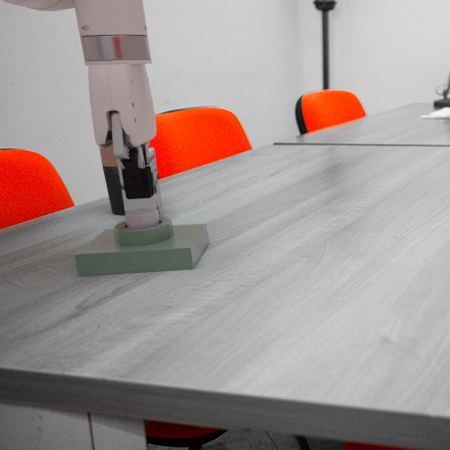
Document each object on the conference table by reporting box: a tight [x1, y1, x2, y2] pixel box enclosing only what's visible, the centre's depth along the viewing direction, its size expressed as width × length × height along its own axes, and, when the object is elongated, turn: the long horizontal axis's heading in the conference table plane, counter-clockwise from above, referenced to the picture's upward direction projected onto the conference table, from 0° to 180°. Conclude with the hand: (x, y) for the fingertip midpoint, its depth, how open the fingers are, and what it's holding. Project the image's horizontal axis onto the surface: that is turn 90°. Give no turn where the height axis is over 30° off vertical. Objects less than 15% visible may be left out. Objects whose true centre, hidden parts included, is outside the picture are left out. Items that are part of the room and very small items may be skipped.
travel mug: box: [98, 145, 125, 216], centre depth 101 cm, size 8×8×20 cm
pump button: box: [124, 208, 160, 229], centre depth 76 cm, size 4×4×2 cm
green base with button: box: [73, 216, 210, 277], centre depth 77 cm, size 14×11×5 cm
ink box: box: [117, 147, 164, 217], centre depth 95 cm, size 9×5×12 cm, turn 16°
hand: (140, 197), depth 75 cm, fingers closed
